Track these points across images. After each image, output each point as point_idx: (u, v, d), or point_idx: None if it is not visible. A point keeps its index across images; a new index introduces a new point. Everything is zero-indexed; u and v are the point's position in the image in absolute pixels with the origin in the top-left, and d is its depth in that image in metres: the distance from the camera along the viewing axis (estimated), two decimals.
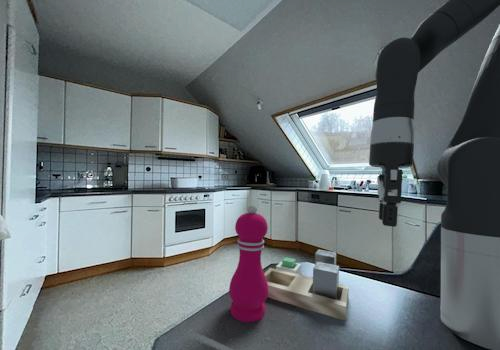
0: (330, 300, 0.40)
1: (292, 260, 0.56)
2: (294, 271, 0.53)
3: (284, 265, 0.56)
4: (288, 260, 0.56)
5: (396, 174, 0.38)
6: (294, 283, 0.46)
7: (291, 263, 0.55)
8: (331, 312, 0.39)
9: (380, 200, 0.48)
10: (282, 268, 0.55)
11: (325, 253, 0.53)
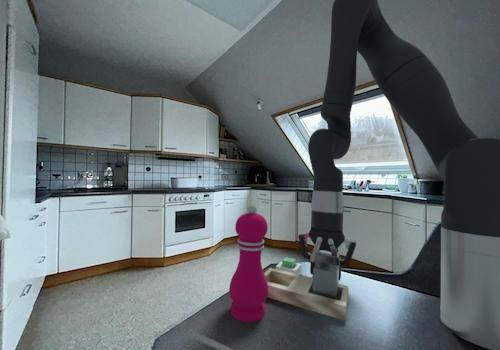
0: (330, 300, 0.40)
1: (292, 260, 0.56)
2: (294, 271, 0.53)
3: (284, 265, 0.56)
4: (288, 260, 0.56)
5: None
6: (294, 283, 0.46)
7: (291, 263, 0.55)
8: (331, 312, 0.39)
9: None
10: (282, 268, 0.55)
11: (325, 253, 0.53)
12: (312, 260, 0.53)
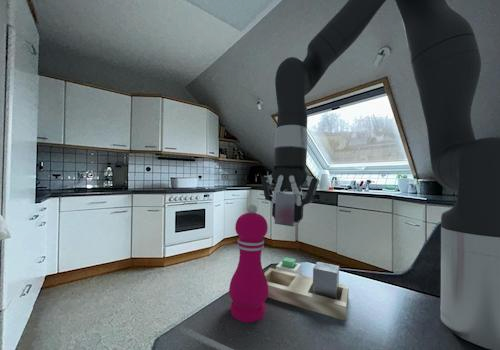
0: (330, 300, 0.40)
1: (292, 260, 0.56)
2: (294, 271, 0.53)
3: (284, 265, 0.56)
4: (288, 260, 0.56)
5: (317, 183, 0.47)
6: (294, 283, 0.46)
7: (291, 263, 0.55)
8: (331, 312, 0.39)
9: None
10: (282, 268, 0.55)
11: None
12: (274, 201, 0.50)
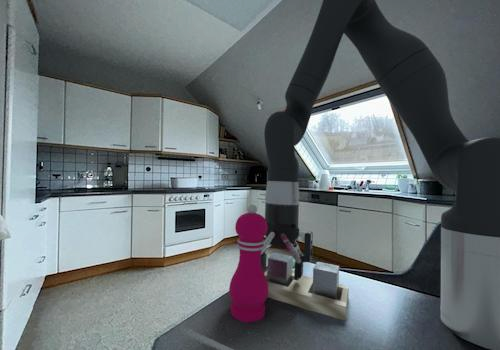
0: (330, 300, 0.40)
1: None
2: None
3: None
4: None
5: (311, 236, 0.46)
6: (294, 283, 0.46)
7: None
8: (331, 312, 0.39)
9: (262, 253, 0.49)
10: None
11: (279, 257, 0.48)
12: None
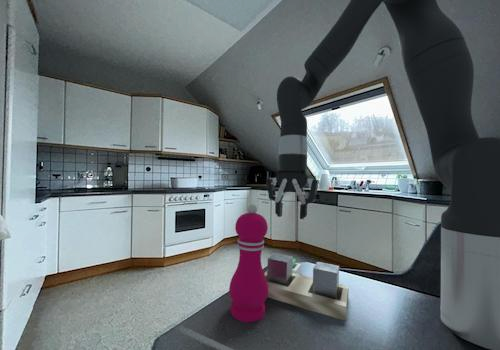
0: (330, 300, 0.40)
1: None
2: (294, 271, 0.53)
3: None
4: None
5: (317, 183, 0.55)
6: (294, 283, 0.46)
7: None
8: (331, 312, 0.39)
9: (279, 200, 0.58)
10: None
11: (279, 257, 0.48)
12: (276, 200, 0.58)
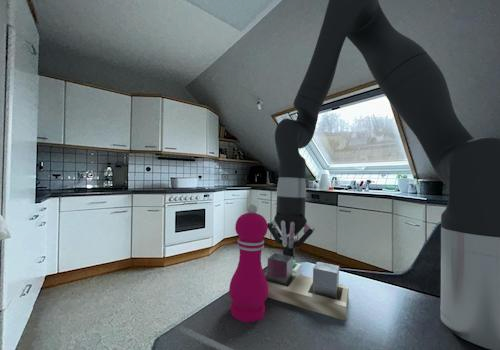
0: (330, 300, 0.40)
1: None
2: (294, 271, 0.53)
3: None
4: None
5: None
6: (294, 283, 0.46)
7: None
8: (331, 312, 0.39)
9: (287, 245, 0.56)
10: None
11: (279, 257, 0.48)
12: (284, 245, 0.56)
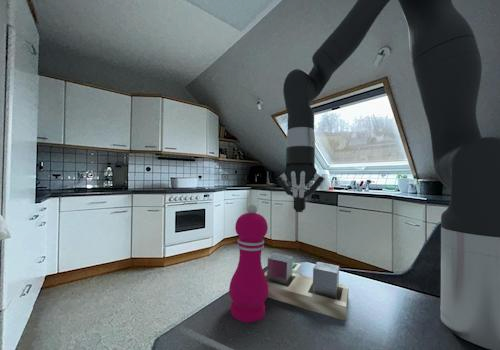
0: (330, 300, 0.40)
1: None
2: (294, 271, 0.53)
3: None
4: None
5: (322, 181, 0.55)
6: (294, 283, 0.46)
7: None
8: (331, 312, 0.39)
9: (297, 195, 0.56)
10: None
11: (279, 257, 0.48)
12: (295, 195, 0.56)
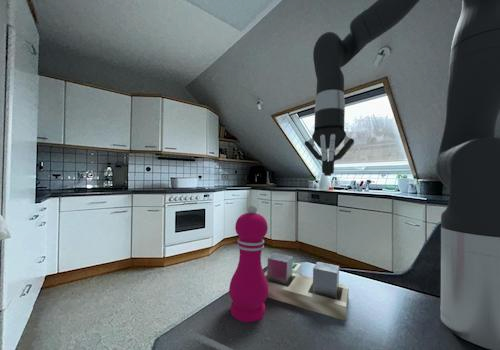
0: (330, 300, 0.40)
1: None
2: (294, 271, 0.53)
3: None
4: None
5: (352, 144, 0.55)
6: (294, 283, 0.46)
7: None
8: (331, 312, 0.39)
9: (326, 159, 0.56)
10: None
11: (279, 257, 0.48)
12: (324, 159, 0.57)
